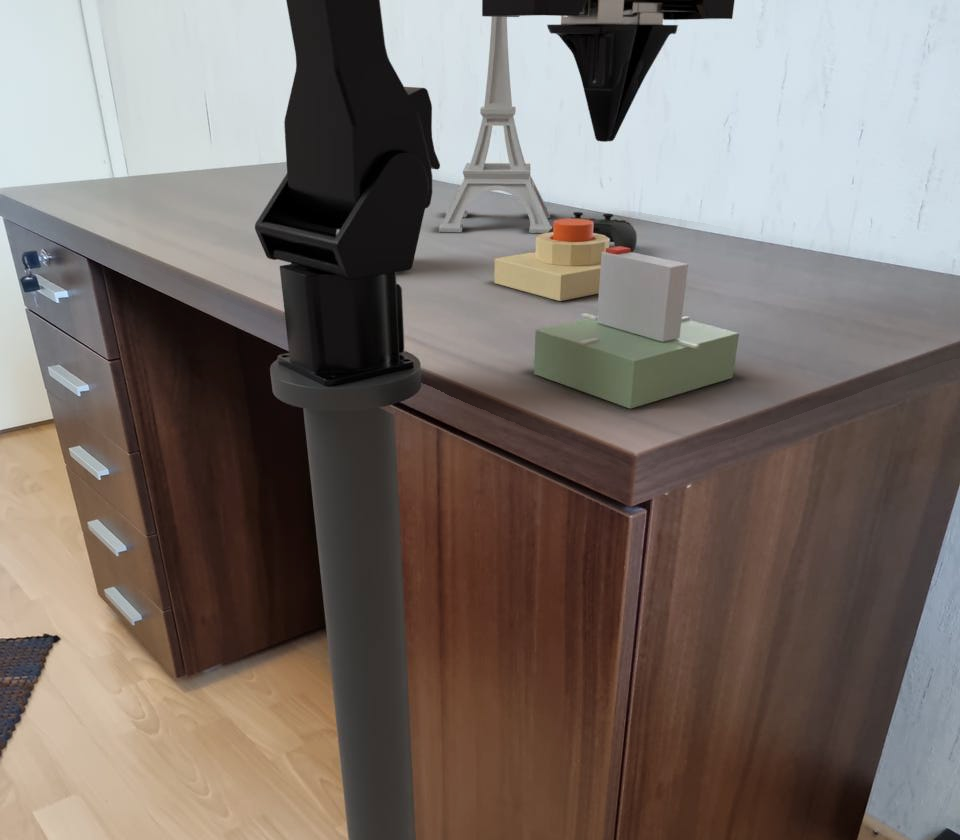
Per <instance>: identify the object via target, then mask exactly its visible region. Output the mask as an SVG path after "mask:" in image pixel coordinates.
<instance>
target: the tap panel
mask: <svg viewBox="0 0 960 840" xmlns="http://www.w3.org/2000/svg"><path fill="white" fill-rule="evenodd" d="M580 316H581V317H583V318H582V319H578V320H573V321H568V322H563V323H559V324H554V325H550V326H546V327H545V326H544V327H541V328H537V329H535V330H534V331H535V335H534V358H533V359H534V360H533V374H534V375H536V376H539V377H542V378H544V379H547V380H548V381H549V380H550V381H552V382H555V383H558V384H561V385H563V386H566V387H568V388H572V389H575V390H577V391H579V392H583V393H584V394H585V393H586V394H588V395H590V396H594V397H597V398H599V399H602V400H605V401H608V402H610V403H613V404H616V405H619V406H622V407H624V408H627V409H629V410H630V409H635V408H638V407H640V406H644V405H647V404H648V405H649V404H651V403H655V402H657V401H661V400H665V399H667V398H671V397H674V396H677V395H681V394H684V393H688V392H690V391H694V390H697V389H700V388H704V387H707V386H710V385H713V384H717V383H721V382H724V381H727V380H730V379H733V377H734V370H735V364H736V358H737V351H738V345H739V338H740V333H739V332H736V331H732V330H729V329H725V328H721V327H718V326H714V325H709V324H706V323H702V322H699V321H694V320H692V319H691V317H690V316H687V315H684V316H682V320H681V329H680V337H679V338H677V339H673V340H669V341H665V342H661V341H658V340H654V339H651V338H647V337H644V336H641V335H637V334H634V333H630V332H627V331H623V330H620V329H617V328H613V327H610V326H606V325H603V324H600V323H597V315H595V314H590V313H586V312H584V313H581V314H580Z"/></svg>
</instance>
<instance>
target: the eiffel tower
mask: <svg viewBox="0 0 960 840" xmlns="http://www.w3.org/2000/svg"><path fill="white" fill-rule="evenodd" d="M490 20H491V23H490V38H489V39H490V40H489V52H488V64H487V65H488V66H487V78H486V85H485V97H484V103H483V106H481V107H480V108H479V111H480V112H479V114H480V115H481V123H480V127H479V130H478V131H479V132H478V135H477V139H476V143H475V147H474V151H473V154H472V157H471V160H470V162H467V163H465V165H464V167H463V169H462V175H463V180H462V182H461V184H460V186H459V188H458V190H457V192H456V194H455V196H454V198H453V200H452V202H451V203H450V206H449V208H448V209H447V210H446V211H445V214H444V215H445V216H444V219H443V221H442V223H440V225H439V227H438V232H439V233H462V232H463V230H464V229H463V228H464V224H462V222H463V218H467V217H468V210H467V209H468V207H469V205H470V204H471V203H472V202H473V201H474V200H475V199H476V198H477V197H479V196H481V195H482V194H485V193H487V192H492V191H499V192H500V191H501V192H505V193H507V194H510V195H512V196H513V197H515V198H516V199H517V200H518V201H519V202H520V203H521V204H522V206H523V207H524V209H525V211H526V214H527V216H528V219H529V223H530V224H529V227H528V228H529V229H528V232H529V234H544V233H548V232H549V230H550V229H551V228H553V225H552V224H550V222H549V219H551V211H549V209H548V207H547V206H546V205H547V204H546V203H545V202H544V199H543V197H542V195H541V193H540V191H539V189H538V188H537V186H536V184H535V181H534V179H533V177H532V176H531V163H526V162H525V158H524V155H523V151H522V148H521V143H520V139H519V135H518V130H517V127H516V122H515V118H514V117H515V116H516V109H517V108H516V106H513V101H512V90H511V88H512V87H511V75H510V58H509V57H510V56H509V39H508V17H491V19H490ZM493 126H497V127H498V126H499V127H500V126H503V134H504V142H505V148H506V153H507V158H508V162H507V163H506V162H505V163H504V162H503V163H502V162H499V163H498V162H486V161H487V156H488V152H489V148H490V143H491V137H492V132H493Z"/></svg>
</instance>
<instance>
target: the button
mask: <svg viewBox="0 0 960 840" xmlns="http://www.w3.org/2000/svg"><path fill="white" fill-rule="evenodd" d="M593 225H594V223H593V221H590V220H586V219H571V218H560V219H555V220H553V225H552V228H553V240H557V241H564V242H586V241H592V240H593Z"/></svg>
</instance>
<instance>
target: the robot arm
mask: <svg viewBox="0 0 960 840" xmlns="http://www.w3.org/2000/svg"><path fill="white" fill-rule="evenodd" d="M285 1H286V7H287V12H288V19H289V24H290V25H289V26H290V29H291V37H292V41H293V45H294V46H293V48H294V52H295V72H294V77H293V81H292V85H291V90H290V94H289V95H290V96H289V98H288V104H287V107H286V112H285V115H284V121H283V122H284V123H283V124H284V142H285V158H286V174H285V176H284V177H283V178H282V180H281V182H280V184H279V185H278V187H277V188H276V190H275V191H274V193H273V195H272V197H271V198H270V199H269V201H268V203H267V205H266V206H265V208H264V209H263V211H262V212H261V214H260V215H259V217H258V218H257V220H256V222H255V224H254V231H255V233H256V236H257V238H258V240H259V243H260V245H261V247H262V249H263V252H264V254H265V256H266V258H267V259H268V260H269V259H270V260H273V261H275V260H276V261H277V260H279V261H283V262H287V263H290V264H283V265H280V266H279V273H280V274H279V275H280V282H281V284H280V285H281V292H282V302H283V310H284V318H285V319H284V320H285V329H286V337H287V339H286V340H287V347H288V353H281V354H278V355H277V356H276V357H277V359H278V364H280V365H282V366H284V367H286V368H288V369H290V370H292V371H294V372H297V373H299V374H301V375H303V376H305V377H307V378H309V379H311V380H313V381H315V382H317V383H319V384H321V385H324V386H328V387H332V386H338V385H342V384H346V383H351V382H355V381H360V380H364V379H368V378H373V377H377V376H382V375H386V374H390V373H395V372H399V371H404V370H408V369H412V368H414V360H413V359H411V358H408V357H406V356H403V355H401V354H399V353H402V352H403V351H405V328H404V327H405V325H404V306H403V305H404V304H403V303H404V302H403V301H404V300H403V288H402V286H401V285H400V284H399V283H397V273H400V272H405V271H410V270H412V268H413V266H414V260H415V256H416V252H417V246H418V242H419V238H420V234H421V229H422V225H423V224H422V223H423V220H424V216H425V211H426V209H428V208H429V207H430V206H431V203H432V197H433V171H432V170H439V169H440V167H441V164H440V163H441V162H440V161H439V158H438V155H437V153H436V151H435V146H434V139H433V105H432V101H431V98H430V95H429V91H428V89H427V88H425V87H417V86H404V84H403V82H402V81H401V79H400V77H399V75H398V73H397V71H396V69H395V67H394V65H393V64H392V63H391V61H390V58H389V55H388V52H387V46H386V40H385V32H384V24H383V16H382V8H381V7H382V6H381V0H285ZM481 5H482V6H481V17H486V18H487V17H491V18H492V17H507V18H520V17H526V16H527V17H530V16H531V17H532V16H534V17H535V16H551V17H552V16H554V17H558V16H559V17H560V24H546V26H547V30H548V32H549V34H555V35H557V36H558V37H559V38H560V39H561V40H562V42H563V43H564V44H565V46H566V47H567V48H568V49H569V51H570V52H571V53H572V56H573V58H574V61H575V63H576V67H577V69H578V73H579V76H580V80H581V83H582V88H583V93H584V95H585V100H586V104H587V108H588V109H587V110H588V112H589V118H590V122H591V125H592V129H593V133H594V138H595V140H596V141H597V142H603V143H606V142H612V141H614V140H615V138H616V136H617V135H618V133H619V130H620V129H621V127H622V124H623V123H624V120H625V118H626V116H627V114H628V112H629V110H630V108H631V106H632V104H633V102H634V100H635V98H636V96H637V94H638V92H639V90H640V88H641V86H642V84H643V82H644V80H645V78H646V77H647V74H648V73H649V71H650V70H651V67H652V66H653V64H654V62H655V61H656V59H657V57H658V55H659V54H660V52H661V50H662V48H663V47H664V45H665V43H666V41H667V40H668V38H669V37H670V36H671V35H676V34H677V33H678V28H679V24H664V21H695V20H696V21H697V20H699V21H701V20H705V21H707V20H733V16H734V8H735V0H481ZM337 230H339V232H338V234H337V235H336V233H337ZM396 272H397V273H396Z"/></svg>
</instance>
